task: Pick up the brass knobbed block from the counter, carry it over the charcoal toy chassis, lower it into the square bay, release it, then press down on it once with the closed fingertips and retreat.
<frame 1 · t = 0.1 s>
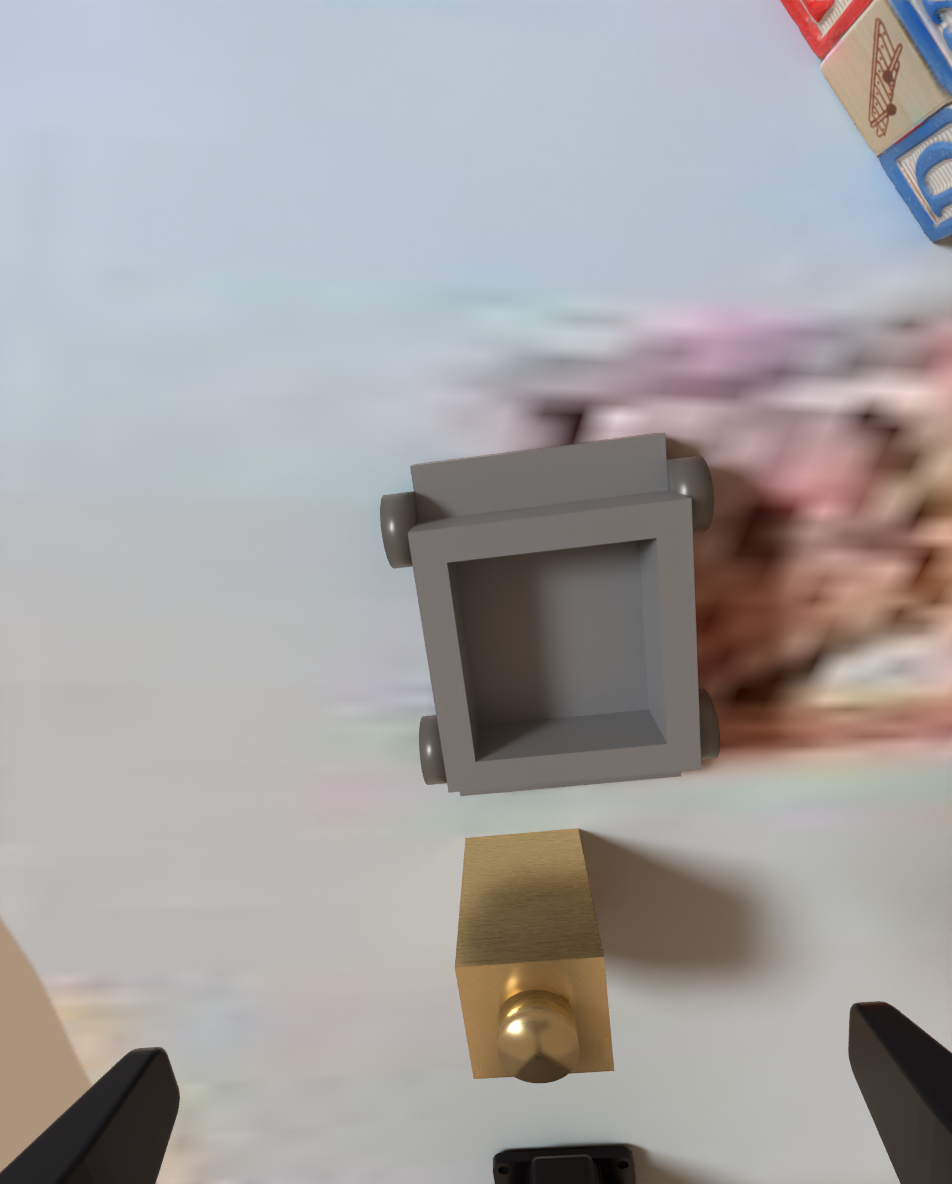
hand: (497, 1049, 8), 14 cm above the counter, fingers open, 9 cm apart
brass knobbed block: (527, 880, 24), on the counter
chassis: (550, 619, 21), on the counter
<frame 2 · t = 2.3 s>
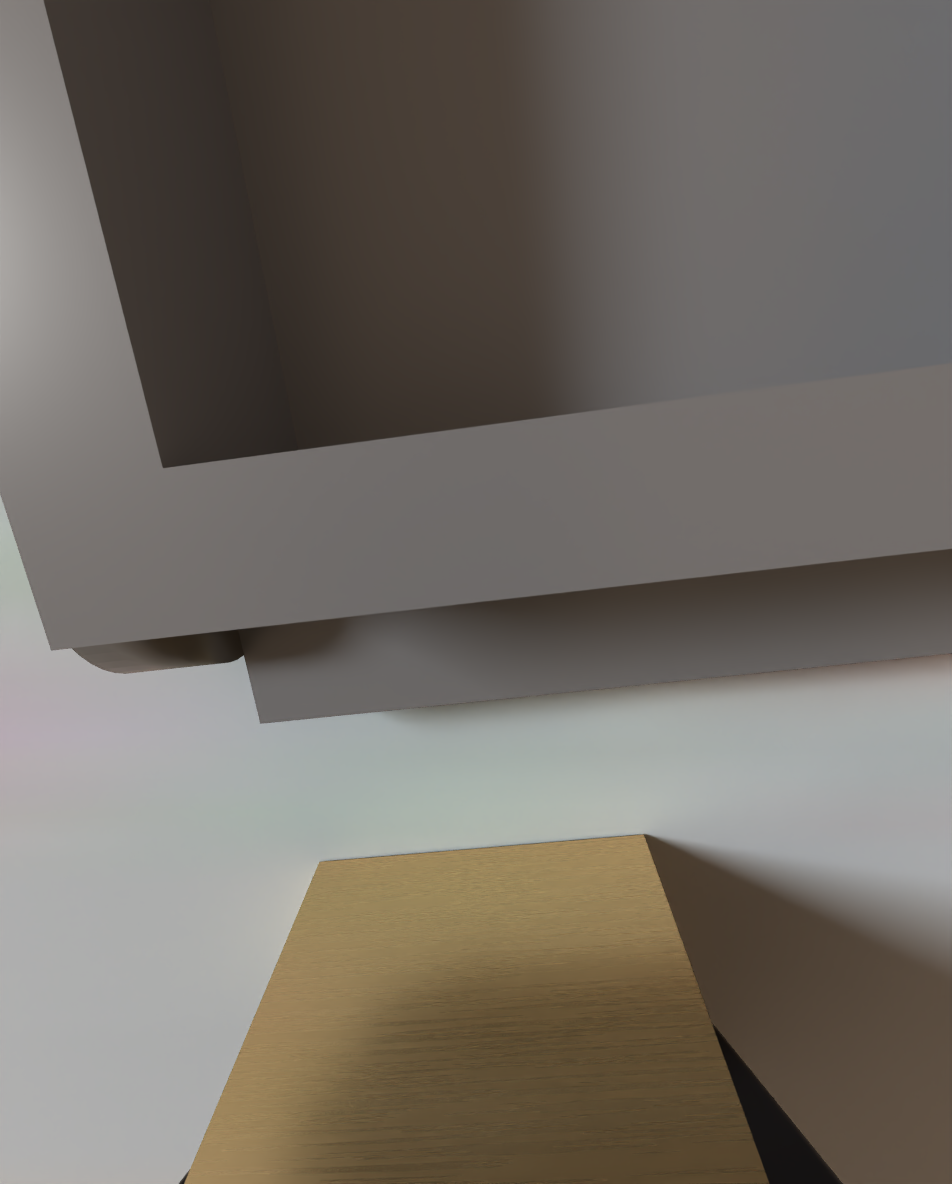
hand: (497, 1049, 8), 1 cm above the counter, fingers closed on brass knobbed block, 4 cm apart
brass knobbed block: (497, 979, 9), on the counter, touching gripper
chassis: (567, 75, 6), on the counter
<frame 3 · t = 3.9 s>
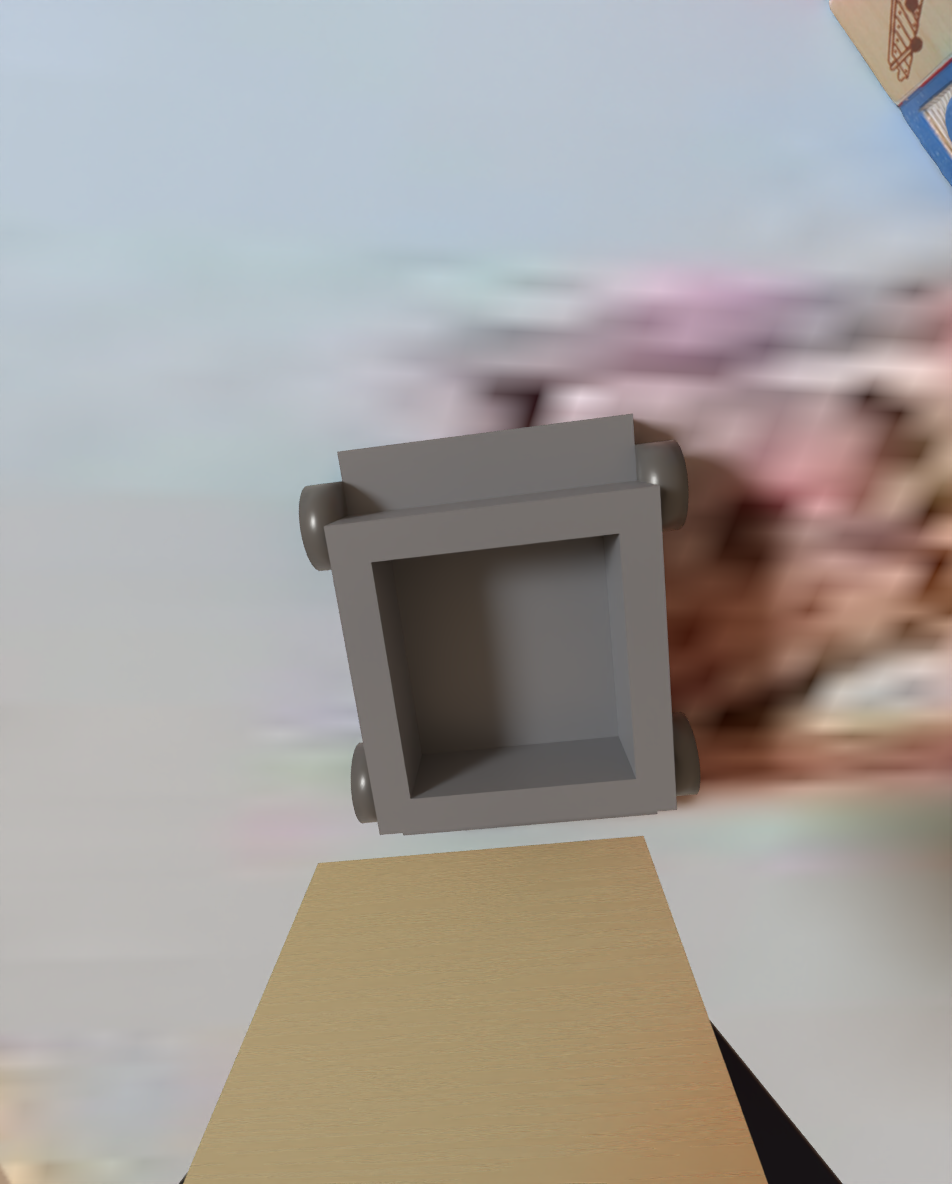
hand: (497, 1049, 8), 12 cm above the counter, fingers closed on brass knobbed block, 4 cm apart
brass knobbed block: (497, 980, 9), point 11 cm above the counter, touching gripper
chassis: (506, 632, 19), on the counter
when the fingers open (4 cm above the counter, at t = 5.7 s): brass knobbed block drops 2 cm, resting on chassis.
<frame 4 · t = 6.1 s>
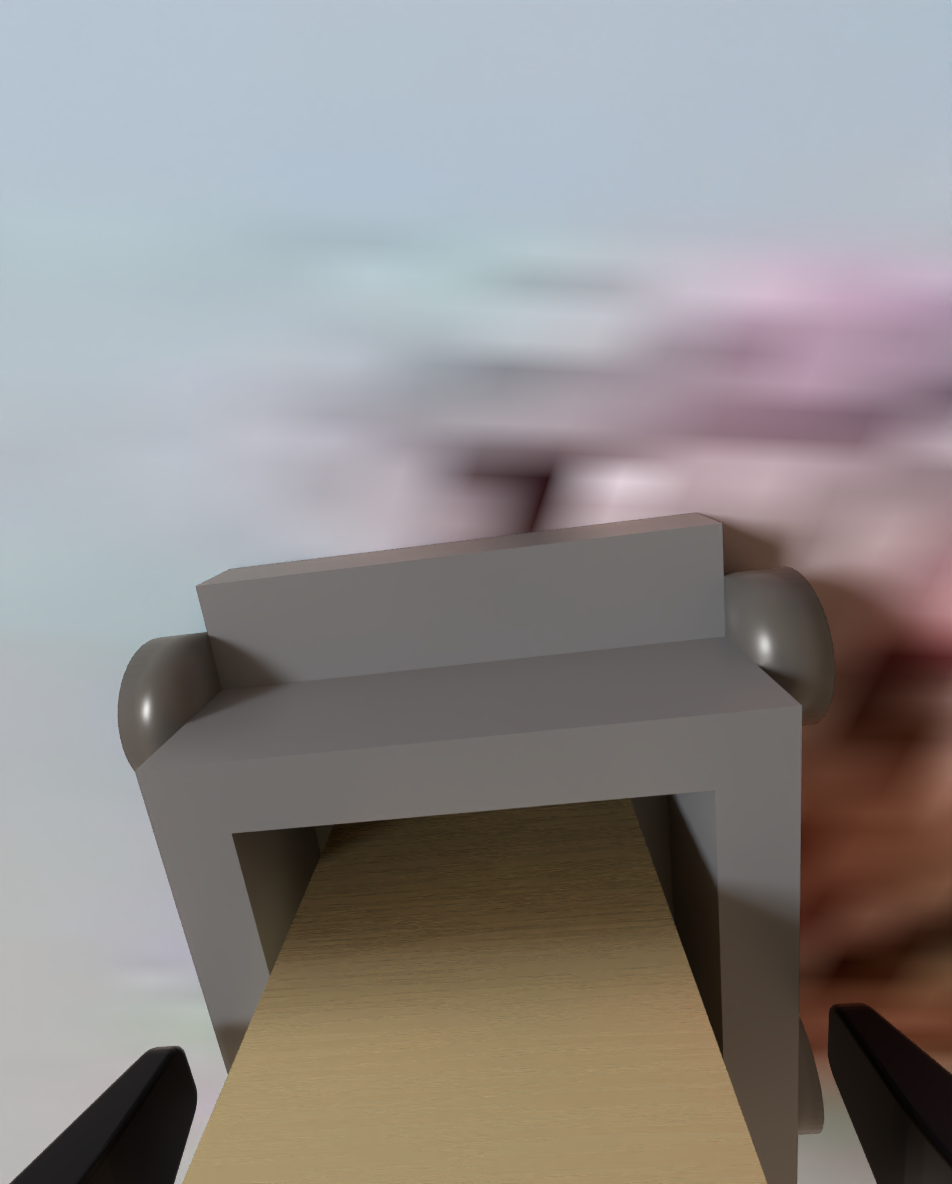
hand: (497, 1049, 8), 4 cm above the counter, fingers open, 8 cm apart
brass knobbed block: (496, 890, 10), point 1 cm above the counter, touching chassis
chassis: (498, 843, 12), on the counter
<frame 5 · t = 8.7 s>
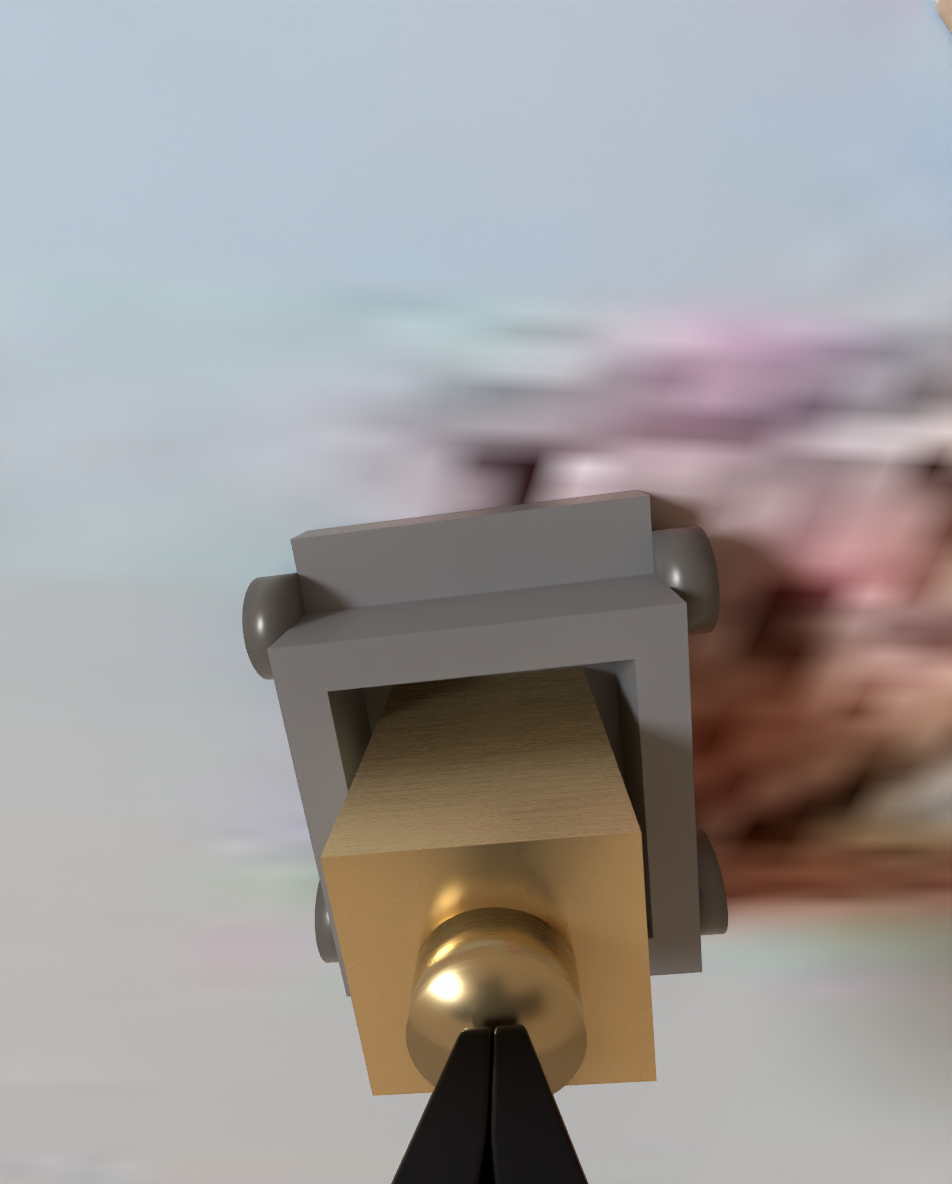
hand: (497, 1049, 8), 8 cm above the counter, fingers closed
brass knobbed block: (497, 760, 15), point 1 cm above the counter, touching chassis
chassis: (498, 735, 16), on the counter
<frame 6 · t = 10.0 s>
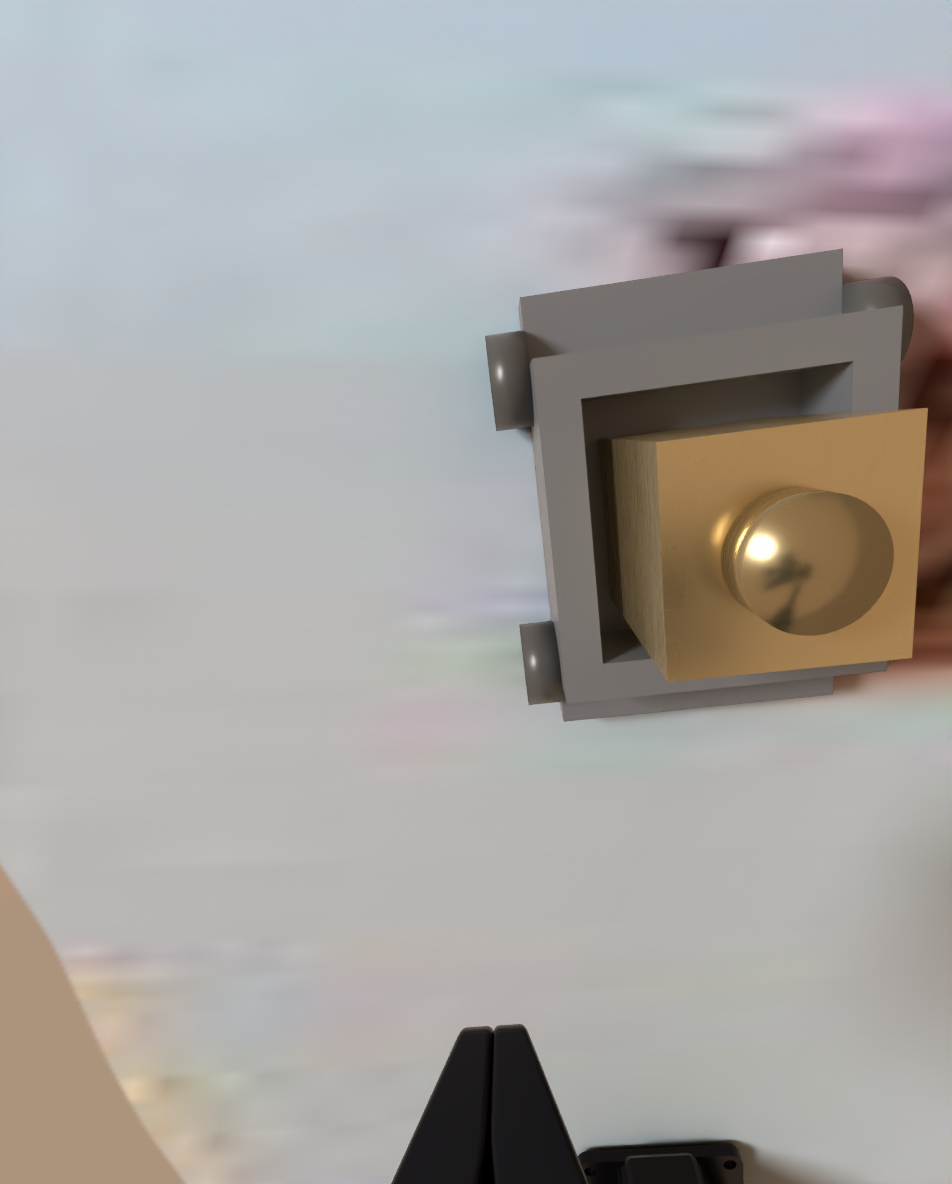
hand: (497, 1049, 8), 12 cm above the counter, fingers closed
brass knobbed block: (687, 511, 17), point 1 cm above the counter, touching chassis
chassis: (675, 505, 18), on the counter
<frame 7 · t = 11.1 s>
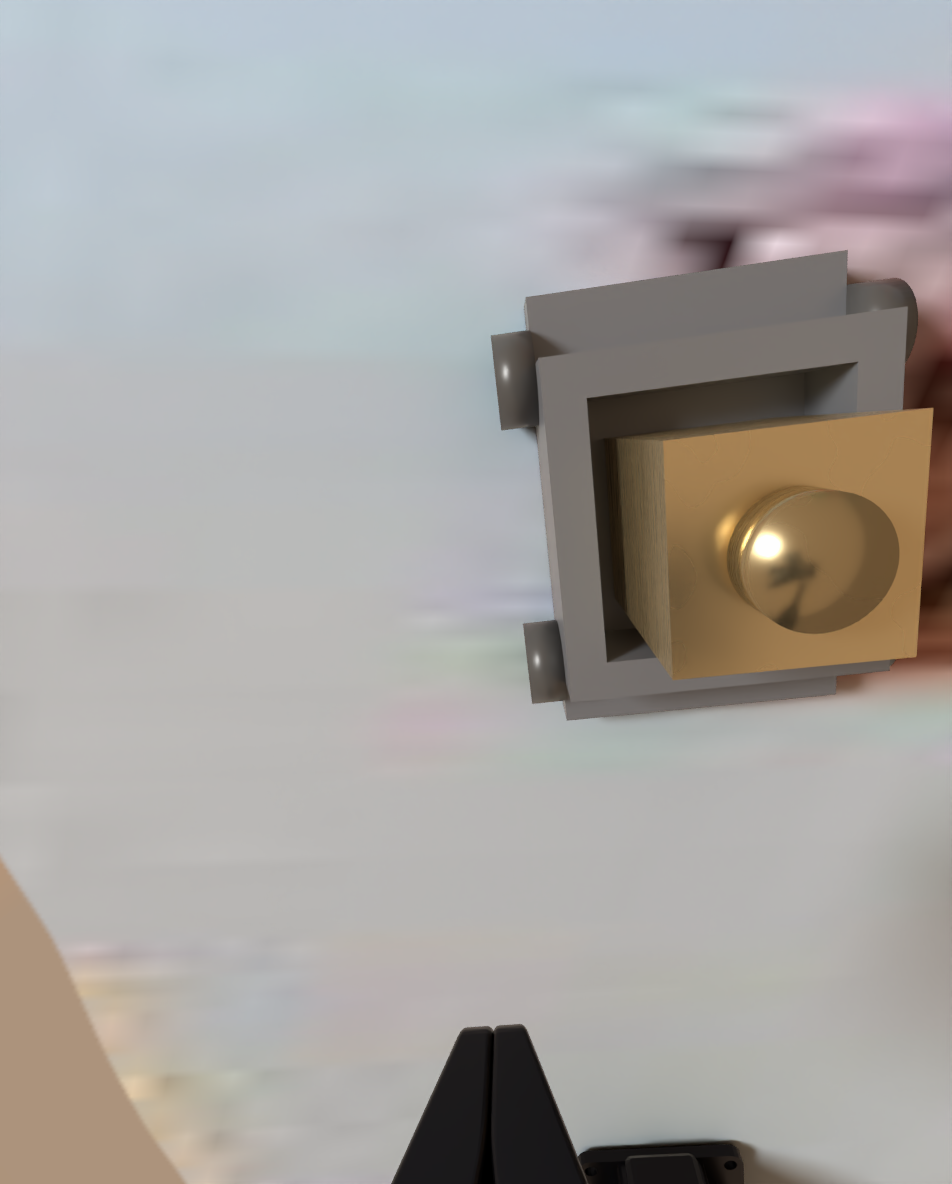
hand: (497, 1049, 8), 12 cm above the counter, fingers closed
brass knobbed block: (691, 511, 17), point 1 cm above the counter, touching chassis
chassis: (679, 505, 18), on the counter
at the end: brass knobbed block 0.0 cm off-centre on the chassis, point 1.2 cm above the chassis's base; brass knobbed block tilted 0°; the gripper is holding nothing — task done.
